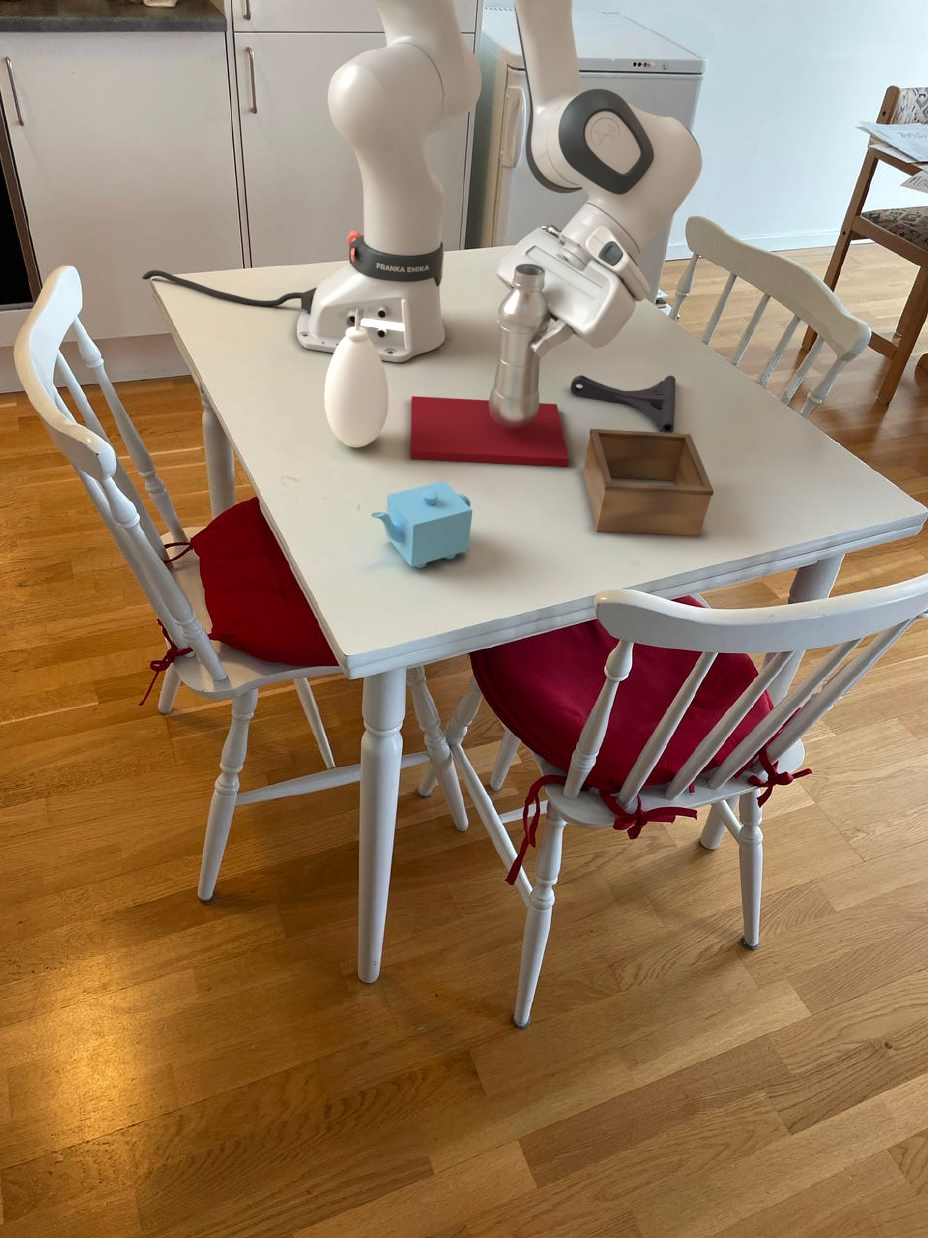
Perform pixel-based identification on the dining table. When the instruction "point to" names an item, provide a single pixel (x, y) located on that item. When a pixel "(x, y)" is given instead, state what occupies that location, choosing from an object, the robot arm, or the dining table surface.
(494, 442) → the cushion mat
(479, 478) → the dining table surface
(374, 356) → the white air blower bulb
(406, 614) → the dining table surface
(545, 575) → the dining table surface
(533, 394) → the metal bottle
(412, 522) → the teapot
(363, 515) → the dining table surface
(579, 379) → the squeegee
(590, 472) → the wooden box
